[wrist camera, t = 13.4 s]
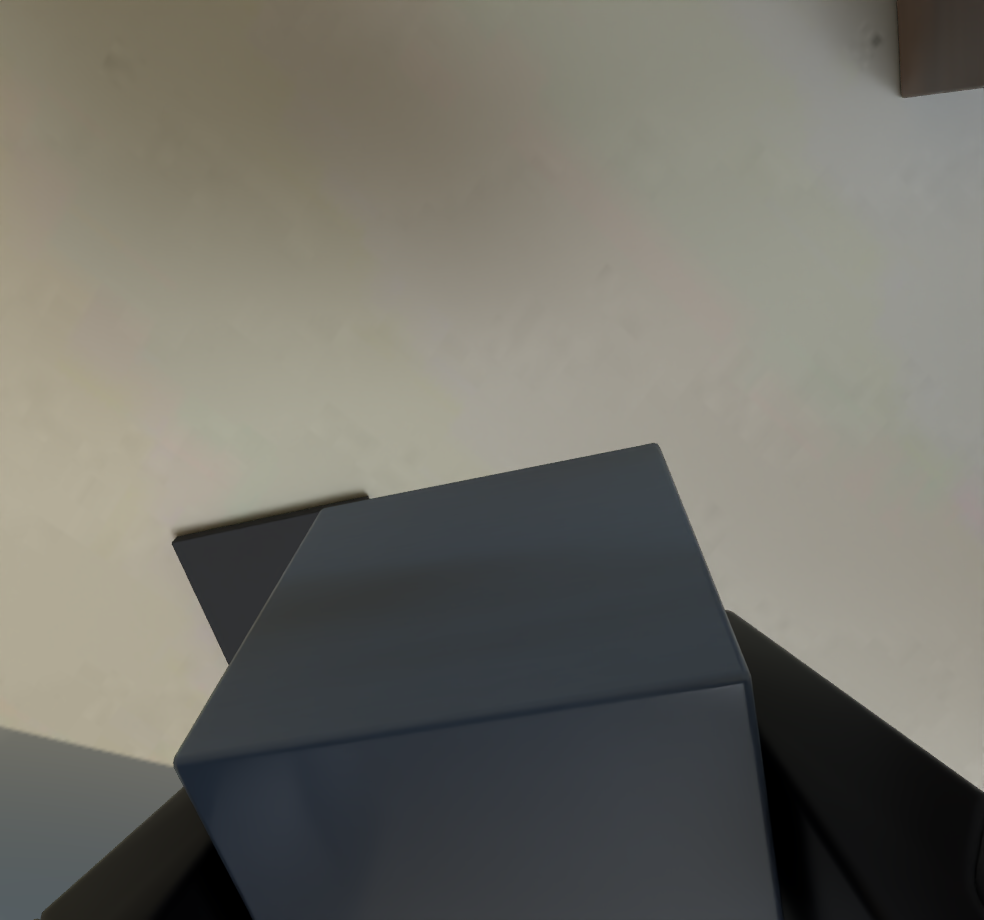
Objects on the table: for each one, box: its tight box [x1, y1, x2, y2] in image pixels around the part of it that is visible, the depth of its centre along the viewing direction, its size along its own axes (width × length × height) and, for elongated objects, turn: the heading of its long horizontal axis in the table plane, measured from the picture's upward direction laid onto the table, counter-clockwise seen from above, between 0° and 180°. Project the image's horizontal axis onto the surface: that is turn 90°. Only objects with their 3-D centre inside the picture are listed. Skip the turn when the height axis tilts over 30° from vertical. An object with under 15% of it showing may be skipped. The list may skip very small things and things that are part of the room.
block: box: [173, 443, 784, 920], centre depth 8 cm, size 4×4×4 cm
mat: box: [172, 496, 369, 664], centre depth 23 cm, size 6×6×1 cm
